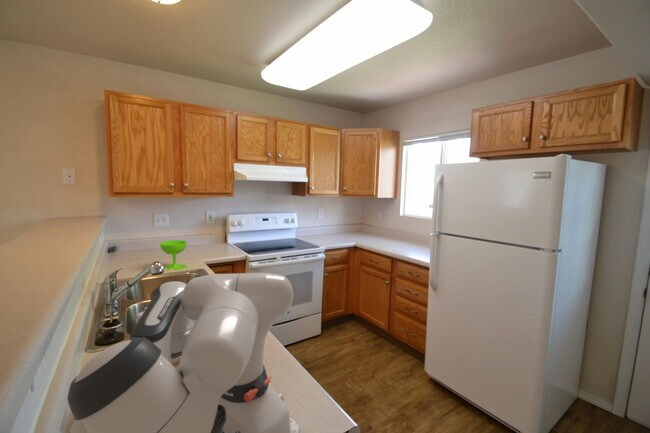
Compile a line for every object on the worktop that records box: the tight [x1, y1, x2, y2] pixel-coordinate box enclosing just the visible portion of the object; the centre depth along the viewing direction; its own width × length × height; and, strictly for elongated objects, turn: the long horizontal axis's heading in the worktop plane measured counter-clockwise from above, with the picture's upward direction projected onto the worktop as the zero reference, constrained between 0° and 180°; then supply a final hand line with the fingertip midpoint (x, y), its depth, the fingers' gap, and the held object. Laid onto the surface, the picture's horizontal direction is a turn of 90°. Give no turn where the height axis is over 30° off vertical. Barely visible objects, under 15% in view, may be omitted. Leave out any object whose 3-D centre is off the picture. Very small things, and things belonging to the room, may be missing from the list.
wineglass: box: [159, 239, 188, 270], centre depth 200 cm, size 16×16×18 cm
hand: (162, 304), depth 95 cm, fingers open, 8 cm apart
